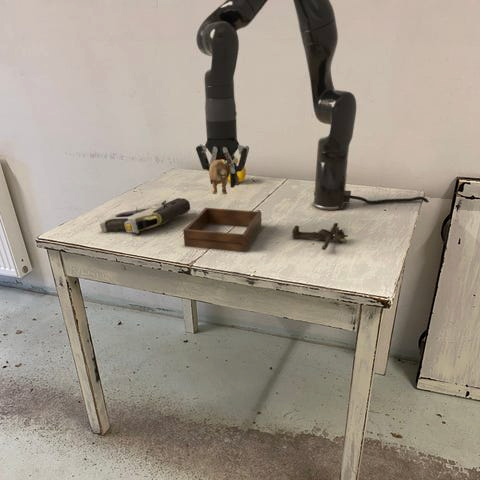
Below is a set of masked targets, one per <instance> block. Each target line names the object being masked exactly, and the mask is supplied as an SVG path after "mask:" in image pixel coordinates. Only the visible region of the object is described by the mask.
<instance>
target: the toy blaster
mask: <svg viewBox="0 0 480 480" xmlns="http://www.w3.org/2000/svg"><path fill="white" fill-rule="evenodd" d="M190 210H191V204H190V201H189V200H187V199H186V198H181V197H177V198H175V199H172V200H170V201H167V199H164V200H161V201H158V202H155V203H152V204H149V205H144V206H139V207H136V208H135V210H130V211H123V212H120V213H117V214H114V215H112V216H109V217H108V218H106V219H104V220H102V221H101V222H100V223H99V227H100V229H101V233H104V232H105V233H106V232H109V231H110V232H113V231H122V230H123V231H124V230H125V231H126V232H127V233H134V234H139V233H140V232H141V231H144V230H148V229H152V228H156V227H157V226H161V225H162V226H163V225H165V224H166V223H167V222H169V221H171V220H174V219H176V218H179V217H180V216H182V215H184V214H187V213H188V212H190Z"/></svg>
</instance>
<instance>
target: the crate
mask: <svg viewBox="0 0 480 480" xmlns="http://www.w3.org/2000/svg"><path fill="white" fill-rule="evenodd" d="M262 220H263V219H262V211H255V210H241V209H228V208H217V207H216V208H215V207H204V208H203V209H202V210H201V211H200V212H199V214H197V215H196V217H194V219H193V220H191V222H190V223H189V224H188V225H186V227H185V228H184V229H183V230H182V231H183V232H182V233H183V243H184V247H191V248H199V249H200V248H201V249H211V250H223V251H231V252H240V253H242V252H243V253H246V252H247V251H248V248H250V245H251V244H252V243H253V241H254V239H255V238H256V236H257V234H258V233H259V231H260V230H261V229H262ZM210 224H212V225H222V226H231V227H243V228H244V227H245V228H246V229H245V230H244V232H243V233H234V232H225V231H224V232H223V231H222V232H221V231H210V230H204V229H205V228H206V227H207V225H210Z"/></svg>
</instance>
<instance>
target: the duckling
mask: <svg viewBox="0 0 480 480" xmlns="http://www.w3.org/2000/svg"><path fill="white" fill-rule="evenodd" d="M235 159H236V164H237V165H238V164H239V158H237V157H236V156H235ZM220 161H222V162H224V163H225V162H227V161H226V160H222V159H221V160H220ZM237 175H238V177H239V183H240V182H243V181H244V180H245V179H246V176H247V170H246V166H244V168H243V169H242V171H239V172H237ZM227 183H230V174H229V176H228V182H227Z"/></svg>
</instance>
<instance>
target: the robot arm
mask: <svg viewBox="0 0 480 480" xmlns="http://www.w3.org/2000/svg"><path fill="white" fill-rule="evenodd" d="M292 1H293V5H294V10H295V13H296V14H295V15H296V18H297V19H296V20H297V23H298V29H299V34H300V38H301V43H302V46H303V47H302V48H303V50H304V54H305V60H306V65H307V70H308V76H309V82H310V90H311V100H312V106H313V112H314V115H315V118H316V119H317V120H318V122H320V123H321V124H325V125H329V126H330V128H329V134H328V135H326V136H322V137H320V138H318V140H317V149H316V153H317V154H316V162H315V163H316V166H315V181H314V191H313V196H314V197H313V206H314V208H317V209H319V210H324V211H336V210H344V209H343V208H344V206H345V203H346V204H350V201H351V200H358V201H362V202H364V203H366V204H369V205H378V204H385V203H404V202H405V203H407V202H409V203H411V202H415V201H423V202H424V203H429V200H428V199H427V197H424V196H415V197H410V198H409V197H408V198H384V199H378V200H369V199H366V198H365V197H362V196H357V195H352V190H346V189H347V188H346V187H347V178H348V174H347V173H348V161H349V151H350V145H351V143H352V139H353V137H354V136H353V135H354V130H355V123H356V116H357V99H356V96H355V94H353V93H352V92H351V91H347V90H340V89H335V86H334V82H333V78H332V63H333V60H334V56H335V53H336V51H337V46H338V41H339V33H338V26H337V20H336V15H335V14H336V13H335V10H334V7H333V4H332V3H331V0H292ZM268 2H269V0H225V1H224V2H223V3H222V4H220V5H219V6H218V7H217V8H216V9H214V10H213V11H212V12H211V13H210V14H209V15H208V16H207V17H206V18H205V19H204V20H203V21H202V22H201V24H200V25H199V28H198V30H197V33H196V39H195V40H196V46H197V49H198V50H199V51H200V53H202V54H203V55H204V56H207V57H211V65H210V68H209V69H207V70H206V71H205V73H204V77H203V78H204V79H203V83H204V96H205V99H204V115H205V129H206V130H205V132H206V141H205V143H204V144H198V145H196V147H195V151H196V153H197V157H198V160H199V162H200V165H201V168H202V170H204V171H208V172H209V171H210V165H211V163H212V162H213V161H216V160H221V159H222V160H226V161H227V164H228V165H229V168H230V171H231V173H230V182H229V183H230V188H231V189H232V188H235V187H236V186H237V185H236V184H237V172H239V171H242V169H243V168H244V167H246V166H245V165H246V162H247V158H248V155H249V151H250V147H249V146H248V145H245V146H244V145H241V144H240V143H239V141H238V129H237V116H238V115H237V105H236V104H237V103H236V97H235V74H236V73H235V72H236V69H237V62H238V56H239V50H240V41H239V40H240V39H239V34H238V32H237V31H239V30H242V29H245V28H246V27H248V26H249V25H250V24H251V23H252V22H253V21H254V19H256V17H257V15H258V14H259V13H260V12H261V11H262V9H263V8H264V7H265V5H266V4H267V3H268ZM237 151H238V154H239V155H240V157H239V159H238V163H237V164H236V159H235V157H236V155H235V153H236V152H237ZM207 152H209V154H210V155H211V157H210V161H209V159H208V155H207ZM209 180H210V179H209ZM210 184H211V185H213V184H212V180H210ZM218 185H219V184H217V186H218Z"/></svg>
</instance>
